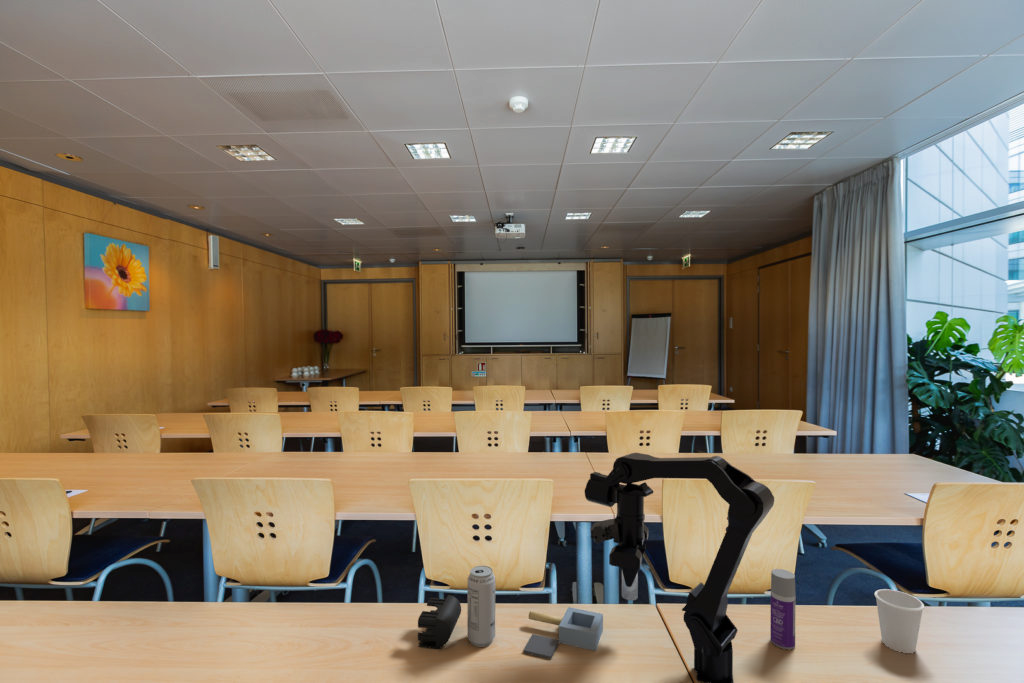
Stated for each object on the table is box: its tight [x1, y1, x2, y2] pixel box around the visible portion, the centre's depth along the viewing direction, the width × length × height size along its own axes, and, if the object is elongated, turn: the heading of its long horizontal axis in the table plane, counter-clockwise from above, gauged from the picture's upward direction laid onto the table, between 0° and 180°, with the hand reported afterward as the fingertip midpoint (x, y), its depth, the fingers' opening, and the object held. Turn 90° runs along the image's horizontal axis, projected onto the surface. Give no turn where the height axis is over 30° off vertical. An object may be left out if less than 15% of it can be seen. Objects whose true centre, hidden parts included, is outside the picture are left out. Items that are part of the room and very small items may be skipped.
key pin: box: [621, 571, 639, 601], centre depth 108 cm, size 3×3×9 cm
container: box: [770, 568, 797, 651], centre depth 106 cm, size 5×5×15 cm
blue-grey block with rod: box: [528, 606, 604, 652], centre depth 110 cm, size 16×8×4 cm, turn 69°
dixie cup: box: [874, 588, 925, 654], centre depth 105 cm, size 8×8×10 cm
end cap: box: [417, 594, 462, 650], centre depth 108 cm, size 10×7×7 cm
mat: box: [522, 633, 560, 660], centre depth 104 cm, size 6×6×1 cm
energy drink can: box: [466, 565, 496, 648], centre depth 107 cm, size 6×6×15 cm
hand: (629, 582), depth 108 cm, fingers closed on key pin, 3 cm apart
